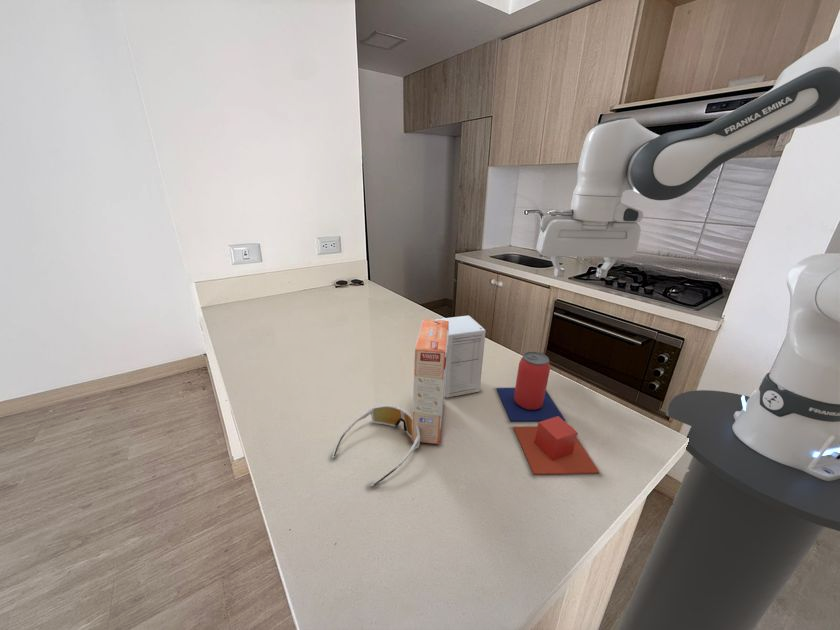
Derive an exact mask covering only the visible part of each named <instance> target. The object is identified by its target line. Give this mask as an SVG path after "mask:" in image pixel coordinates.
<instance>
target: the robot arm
mask: <svg viewBox="0 0 840 630" xmlns="http://www.w3.org/2000/svg"><path fill="white" fill-rule="evenodd" d="M836 117H840V33H839V34H837V35H834V36H833V37H832V38H830V39H828V40H827V41H825V42H823V43H821V44H820V45H818V46H816V47H815V48H814V49H812V50H810V51H809V52H807V53H806V54H804V55H803V56H802V57H800V58H798V59H797V60H796V61H794V62H793V63H791V64H790V65H789V66H787V67H786V68H784V69H783V71H781V73H780V74H779V76H778V77H777V79H776V80H775V83H774V85H773V86H772V88H771V89H769V90H768V91H767V92H765V93H763V94H762V95H760V96H759V97H757V98H755V99H753V100H751V101H749V102H747V103H746V104H744V105H741V106H740V107H738V108H736V109H734V110H732V111H730V112H728V113H726V114H725V115H723V116H720V117H719V118H717V119H715V120H713V121H711V122H708V123H707V124H704V125H702V126H699V127H694V128H688V129H678V130H674V131H673V130H672V131H670V132H665V133H663V134H657V133H656V132H653V131H651V130H649V129H648V128H646V127H645V126H643V125H642V124H640V123H639V122H638V121H637V120H636V118H634V117H630V116H625V117H617V118H612V119H607V120H605V121H601V122H599V123H597V124H595V125H594V126H593V127H592V128H591V129H590V130H588V132H587V134H586V136H585V138H584V140H583V141H584V142H583V145H582V148H581V152H580V156H579V161H578V164H577V171H576V172H577V182H576V186H575V187H574V190H573V193H572V198H571V202H570V207H569V208H570V209H560V210H559V209H550V210H549V211H547V212H545V213H544V214H543V215H542V217H541V220H540V231H539V235H538V238H537V243H536V247H535V249H536V252H537V253H538V254H539V255H540V256H542V257H550V261H551V263H552V266H553V268H554V271H553V276H554V277H556V278H563V277H564V276H565V271H566V269H565V268H563V267H561V264H560V262H562V261H563V258H564V257H565V258H568V257H569V258H603V261H604V263H602V265H601V266H600V267H597V268H596V272H595V277H597V278H599V279H600V278H601V279H602V278H604V279H605V278H607V275H608V271H609V270H610V269H611V268H612V267H613V266H614V264H616V261H617V258H618V259H619V258H620V259H621V258H623V259H625V258H627V259H629V258H630V259H631V258H632V257H633V256H634V255H636V253H637V250H638V248H639V243H640V238H641V226H640V224H639V223H640V222H641V221H642V220H643V218H644V211H642V210H640V209H638V208H635V207H633V206H631V205H628V204H625V203H623V202H622V198H623V194H624V192H625V191H633V192H634V193H636V194H640V195H641V196H643V197H645V198H647V199H649V200H654V201H669V200H674V199H677V198H680V197H682V196H684V195H686V194H688V193H689V192H691V191H692V190H693V189H695V188H696V187H697V186H698V185H700V184H701V183H702V182H703V181H704V180H705V179H706V178H707V177H708V176H709V175H710V174H711V173H712V172H713V171H715V170H716V169H717V168H719V167H720V166H722V165H723V164H724V163H727V162H728V161H730V160H732V159H734V158H736V157H739V156H740V155H742V154H744V153H746V152H748V151H750V150H752V149H754V148H756V147H758V146H761V145H762V144H763V143H767V142H768V141H770V140H773V139H774V138H777V137H778V136H780V135H781V136H782V135H783V134H785V133H787V132H790V131H793V130H796V129H800V128H806V127H809V126H813V125H817V124H819V123H822V122H826V121H828V120H832V119H834V118H836ZM786 286H787V289H788V293H789V299H790V300H789V301H790V302H789V310H788V311H789V313H788V318H787V319H788V321H787V328H786V332H785V338H784V341H783V344H782V346H781V348H780V350H779V353H778V355H777V357H776V359H775V361H774V362H773V366H772V368H771V370H770V371H769V372H767V373H766V374H765V376H764V377H763V378H762V379H761V382H760V385H759V387H758V389H755V390H754V391H753V392H752V393H751V395H750V396H749V397H750V398H749V399H748V401H747V402H745V397H744V396H745V395H744V394H741V395H742V398H741V399H742V404H743V409H742V410H741V411H736V412H735V414H734V419H735V422H734V424H733V425H732V429H733V432H734V433H735V435H736V436H737V437H738V438H739V439H740V440H741V441H742V442H743V443H745V444H746V445H747V446H749V447H750V448H752V449H753V450H755V451H756V452H758V453H760V454H762V455H763V456H765V457H767V458H769V459H772V460H774V461H776V462H779V463H781V464H784V465H787V466H790V467H793V468H796V469H799V470H802V471H804V472H806V473H808V474H810V475H813V476H815V477H817V478H819V479H822V480H825V481H832V480H836V479H840V253H839V252H838V253H837V252H836V253H835V252H834V253H833V252H832V253H830V252H829V253H818V254H814V255H811V256H808V257H805V258H803V259H801V260H800V261H798V262H797V263H796V264H795V265H794V266H792V268H791V269H790V270H789V272H788V274H787V277H786ZM743 395H744V396H743Z"/></svg>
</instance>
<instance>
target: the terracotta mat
mask: <svg viewBox="0 0 840 630" xmlns="http://www.w3.org/2000/svg"><path fill="white" fill-rule="evenodd" d="M537 427H538V426H513V430H514V433H515V435H516V438H517V440H518V442H519V445H520V447H521V450H522V451H523V454H524V456H525V458H526V461H527V463H528V465H529V467H530V470H531V472H532V475H533V476H537V475H538V476H540V475H541V476H542V475H543V476H544V475H545V476H546V475H549V476H550V475H590V474H591V475H593V474H595V475H596V474H600V471H599V469H598V468H597V466H596V465H595V463H594V461H593V460H592V459H591V457H590V456H589V454H588V453H587V451H586V449H585V448H584V447H583V444H582V443H581V442H580V441H579V438H578V437H577V438H576V442H575V446H574V450H573V453H571V454H569V455H566V456H563V457H560V458H558V459H555V460H552V459H551V458H550V457H549V456H548V455H547V454H546V453H545V452H544V451H543V450H542V449H541V448H540V447H539V446H538V445H537V444H536V443H535V437H536V432H537Z"/></svg>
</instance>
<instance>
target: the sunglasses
mask: <svg viewBox="0 0 840 630" xmlns="http://www.w3.org/2000/svg"><path fill="white" fill-rule="evenodd" d="M369 416H370V417H371V422H372V423H374V424H380V425H386V426H390V427H394V428H395V427H398V426H399V425H400V423H401V422H402V423H403V424H402V425H403V431H404V432H406V434H407V435H408V437H410V439H411V440H412V414H411V413H410V412H409V411H408V410H406V409H405V408H402V407H401V406H397V405H394V404H381V405H375V406H373V407H371V408H370V409H368V410H367V411H365V412H364V413H362V414H361V415H359V416H358V417H357V418H356V419H355V420H353V421H352V423H350V425H348V427H347V428H346V429H345V430H344V431H343V432H342V433H341V436H339V439H338V440H337V442H336V445H335V447H334V450H333V453H332V457H331V458H332V459H334V458H335V457H336V454H337V451H338V448H339V446H340V444H341V442H342V440H343V438H344V437H345V436H346V435H347V433H349V431H351V429H352V427H353V426H354V425H356V424H357V423H359V422H360V421H361V420H364V419H365V418H367V417H369ZM415 427H416V429H417V437H416V440H415V441H414V442H413V444H412V446H411V448H410V449H409V451H408V452H407V453H406V455H405V456H404V458H402V459H401V460H400V461H399V463H398V464H396V465H395V466H394V467H392V468H391V469H390V470H389V471H388V472H386V473H385V474H384V475H382V476H381V477H379V478H378V479H377V480H375V481H374V482H372V483H371V484H370V485H369V487H375V486H376V485H378V484H379V483H380V482H382V481H384V480H385V479H386V478H388V477H389V476H390V475H391V474H393V473H394V472H396V470H398V469H399V468H400V467H401V466H402V465H403V464H404V463H405V462H406V460H407V459H408V458H409V457H410V456H411V454H412V453H413V452H414V451H415V450H416V449H419V448H420V444H421V442H420V432H419V428H418V426H415Z"/></svg>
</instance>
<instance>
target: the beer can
mask: <svg viewBox="0 0 840 630" xmlns="http://www.w3.org/2000/svg"><path fill="white" fill-rule="evenodd" d="M550 371H551V365H550V358H549V357H548V356H547V355H546V354H544V353H542V352H539V351H534V350H533V351H531V350H530V351H526V352H524V353H523V354H522V357H521V358H520V360H519V362H518V366H517V374H516V380H515V387H514V388H515V392H514V401H515V402H516V404H517V405H519V406H520V407H522V408H524V409H527V410H537V409H539V408H541V407H542V406H543V402H544V397H545V392H547V386H548V380H549V377H550Z"/></svg>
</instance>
